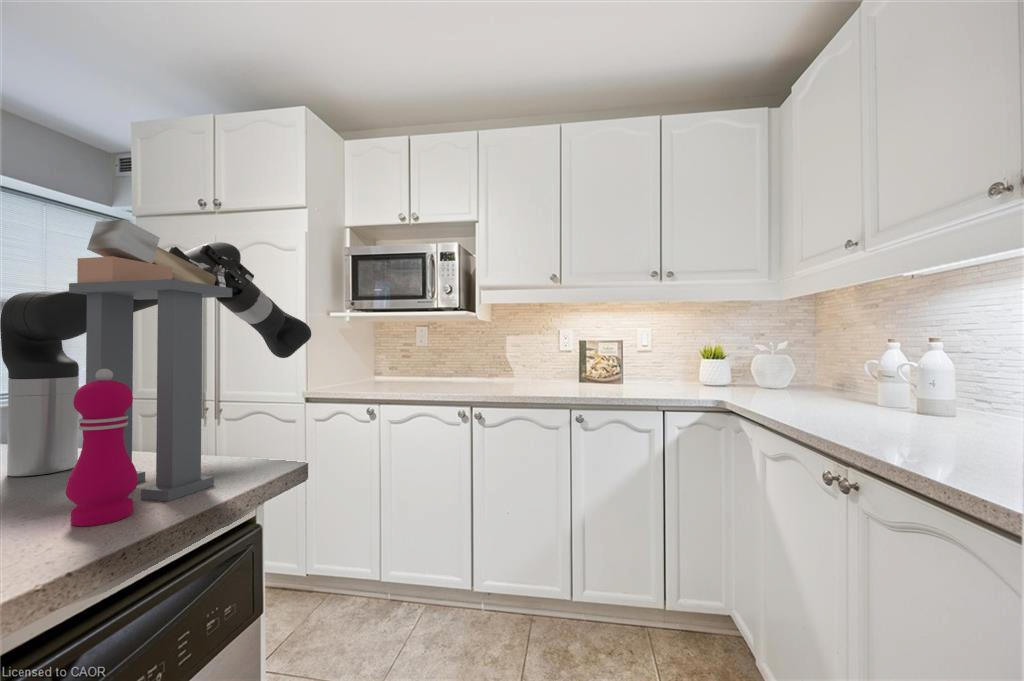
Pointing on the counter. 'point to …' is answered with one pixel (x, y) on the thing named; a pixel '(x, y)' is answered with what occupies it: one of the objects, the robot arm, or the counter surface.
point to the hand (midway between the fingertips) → (187, 249)
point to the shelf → (174, 369)
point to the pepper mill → (102, 454)
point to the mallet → (142, 249)
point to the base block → (119, 270)
